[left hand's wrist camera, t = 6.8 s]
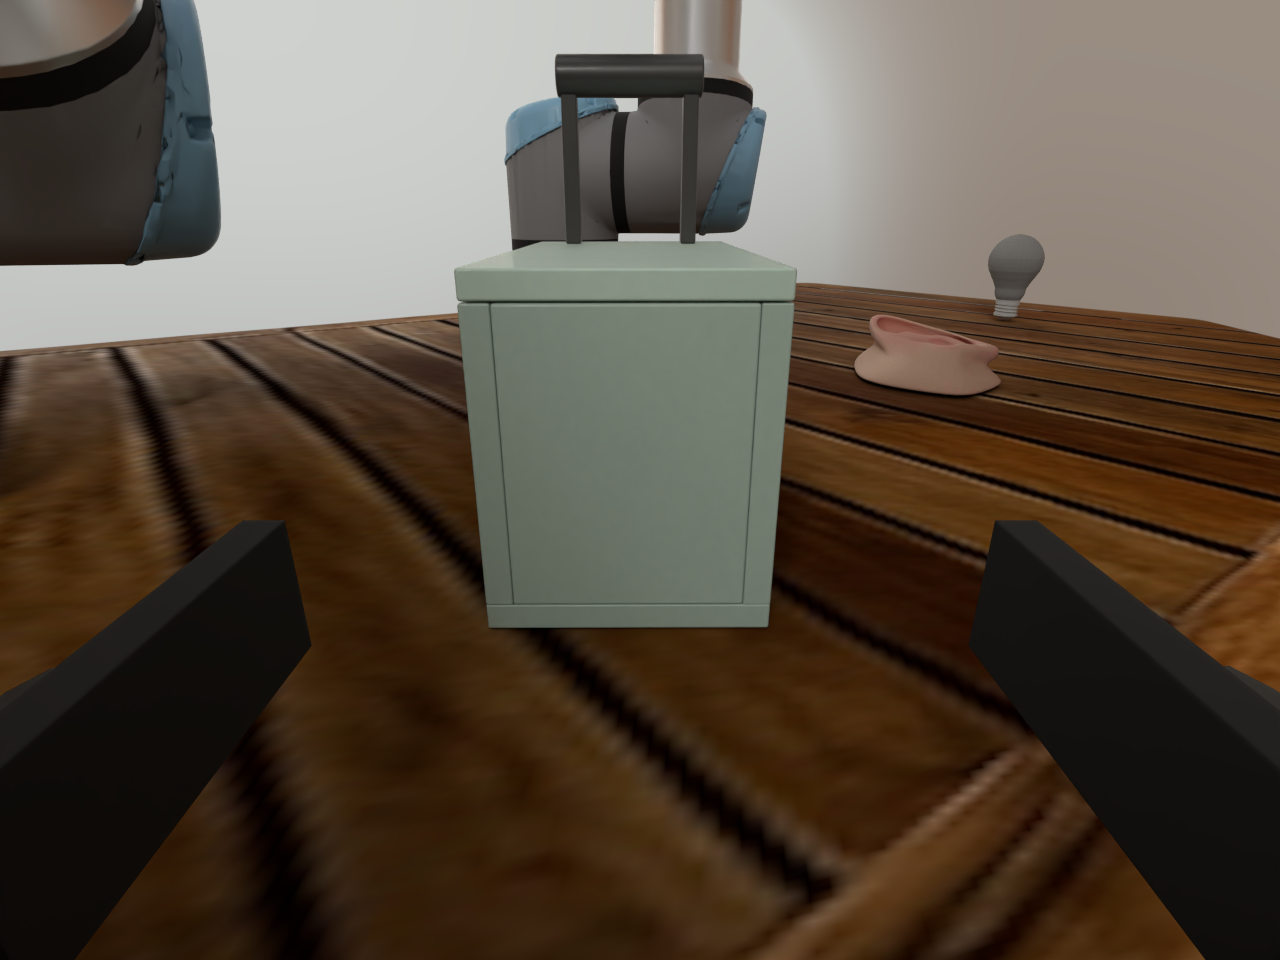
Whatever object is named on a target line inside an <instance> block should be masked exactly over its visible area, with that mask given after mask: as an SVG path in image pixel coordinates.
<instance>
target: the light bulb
mask: <svg viewBox="0 0 1280 960" xmlns="http://www.w3.org/2000/svg"><path fill="white" fill-rule="evenodd" d="M1044 259H1045V258H1044V251H1043V248H1042V246H1041V245H1040V243H1039V242H1038V241H1037V240H1036V239H1035V238H1033V237H1031V236H1027V235H1022V234H1020V235H1013V236H1010V237H1007V238H1005V239H1004V240H1002V241H1001V242H1000V243H998V244H997V245H996V246H995V248H994V249H993V250H992V252H991V254H990V256H989V261H988V267H989V271H990V274H991V277H992V279H993V282H994V285H995V296H996V304H997V305H995V307H996V308H995V309H994V310H996V311H995V312H994V314H993V315H995V316H997V317H998V318H999V319H1011V318H1013V317H1016V316H1017V314H1016V312H1017V311H1016V310H1017V309H1018V308H1017V306H1019V303H1020V300H1021V298H1022V297H1023V296H1024V294H1025V291H1026V288H1027V287H1028V285H1029V284H1030V283H1031V281H1032V280H1033V279H1034V278H1035V277H1036V275H1037V274H1038V273H1039V272H1040V270H1041V268H1042V266H1043V263H1044Z"/></svg>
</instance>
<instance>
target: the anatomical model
mask: <svg viewBox="0 0 1280 960" xmlns="http://www.w3.org/2000/svg"><path fill="white" fill-rule="evenodd" d="M869 329H870V333H871V335H872V337H873V339H874V341H875V342H874V344H873V345H872V346H871V347H870V348H868V349H867V350H866V351H864V352H863V353H862V354H861V355H859V356H858V358H857V359H856V361H855V365H854V366H855V370H856V372H857V374H858V375H859V376H860V377H862V378H863V379H865V380H867V381H870V382H874V383H877V384H882V385H886V386H891V387H896V388H902V389H908V390H915V391H921V392H928V393H936V394H945V395H972V394H977V393H981V392H984V391H987V390H990V389H992V388H994V387H996V386H997V385H999V384H1000V383H1001V381H1000V379H999V377H998V376H996V375H995V374H994V373H993V372H992V371H991V370H990V369H989V368H988V366H987V365H988V363H989V362H991V361H992V360H994V359H995V358H996V357H997V356H998V348H997V347H995V346H993V345H990V344H987V343H983V342H980V341H976V340H973V339H970V338H967V337H964V336H961V335H958V334H954V333H951V332H948V331H944V330H941V329H937V328H933V327H930V326H926V325H923V324H920V323H916V322H913V321H909V320H905V319H902V318H898V317H893V316H888V315H876V316H874V317H872V318H871V320H870V323H869Z"/></svg>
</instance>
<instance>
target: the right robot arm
mask: <svg viewBox="0 0 1280 960" xmlns="http://www.w3.org/2000/svg"><path fill="white" fill-rule="evenodd" d="M741 12H742V0H655V13H654V54H703V56H704V87H703V95H702V97H701V98H699V124H698V159H697V195H696V231H695V233H699V235H702V236H703V235H705V234H707V233H728V232H735V231H737V230H739V229H740V228H742V227H743V226H744V224H745V223H746V221H747V219H748V216H749V211H750V206H751V200H752V195H753V189H754V184H755V178H756V172H757V167H758V161H759V156H760V150H761V144H762V138H763V132H764V126H765V120H766V112H765V111H764V110H760V109H759V108H753V109H752V103H753V88H752V87H751V85H750V84H749V83H748V82H747V81H746V80H745V79H744V78H743V77H742V75H741V74H740V72H739V56H740V34H741ZM682 104H683V98H638V110H637V111H634V112H618V105H617V104H616V101H615V99H614V98H578V131H579V164H580V197H581V230H582V242H618V234H619V233H680V204H681V154H682ZM505 165H506V166H507V180H508V193H509V207H510V221H511V235H512V250H516V249H520V248H523V247H526V246H529V245H532V244H536V243H539V242H566V225H565V199H564V173H563V147H562V121H561V98H559V97H557V98H551V99H546V100H542V101H537V102H534V103H530V104H527V105H525V106H522V107H521V108H519V109H517V110H516V111H514V112H513V113H512V114H511V115H510V117H509V118H508V120H507V124H506V156H505Z"/></svg>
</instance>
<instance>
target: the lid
mask: <svg viewBox="0 0 1280 960" xmlns="http://www.w3.org/2000/svg"><path fill="white" fill-rule="evenodd" d="M555 80H556V90H557V95H558V97H559V98H561V121H562V147H563V173H564V199H565V225H566V242H539V243H536V244H532V245H529V246H526V247H523V248H520V249H516V250H513V251H510V252H507V253H504V254H500V255H497V256H494V257H491V258H487V259H484V260H481V261H478V262H474V263H471V264H468V265H465V266H462V267H458V268H456V269H455V270H454V274H455V285H456V295H457V299H458V301H793V300H794V298H795V289H796V277H797V270H796V268H793V267H791V266H788V265H785V264H782V263H779V262H776V261H774V260H771V259H768V258H765V257H763V256H760V255H757V254H754V253H751V252H749V251H746V250H743V249H740V248H737V247H734V246H732V245H729V244H726V243H723V242H695V231H696V195H697V159H698V124H699V98H701V97H702V95H703V87H704V56H703V54H557V55H556V57H555ZM578 98H683V104H682V154H681V204H680V242H582V230H581V197H580V164H579V131H578Z"/></svg>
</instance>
